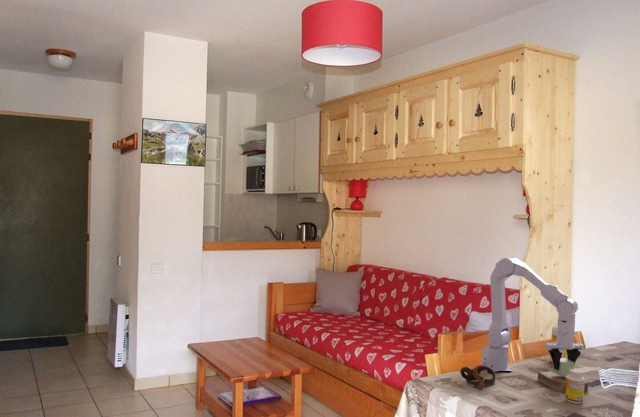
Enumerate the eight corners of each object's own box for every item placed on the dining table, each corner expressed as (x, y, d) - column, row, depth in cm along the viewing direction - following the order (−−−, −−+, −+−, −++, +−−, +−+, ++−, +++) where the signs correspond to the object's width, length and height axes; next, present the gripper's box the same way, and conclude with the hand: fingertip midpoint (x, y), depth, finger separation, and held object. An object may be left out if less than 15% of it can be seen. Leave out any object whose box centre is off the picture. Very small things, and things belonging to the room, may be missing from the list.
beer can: (562, 361, 233) (565, 326, 233) (567, 365, 227) (570, 329, 227) (548, 360, 234) (550, 324, 233) (552, 364, 228) (555, 328, 227)
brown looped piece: (489, 383, 200) (498, 367, 196) (489, 402, 192) (497, 386, 188) (457, 371, 202) (464, 355, 198) (455, 390, 194) (463, 374, 190)
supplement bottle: (567, 396, 189) (569, 367, 188) (585, 401, 185) (587, 371, 185) (562, 400, 184) (564, 370, 184) (580, 405, 181) (582, 374, 181)
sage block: (560, 376, 198) (561, 362, 198) (552, 371, 203) (553, 358, 202) (573, 375, 199) (574, 362, 199) (564, 371, 204) (565, 358, 203)
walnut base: (557, 391, 194) (558, 383, 193) (537, 380, 205) (538, 372, 205) (587, 391, 196) (588, 382, 196) (566, 379, 208) (566, 371, 208)
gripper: (554, 334, 195) (551, 372, 195) (590, 335, 198) (588, 372, 198) (542, 329, 202) (540, 366, 202) (577, 330, 205) (575, 366, 205)
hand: (563, 369), depth 200 cm, fingers closed on sage block, 5 cm apart
